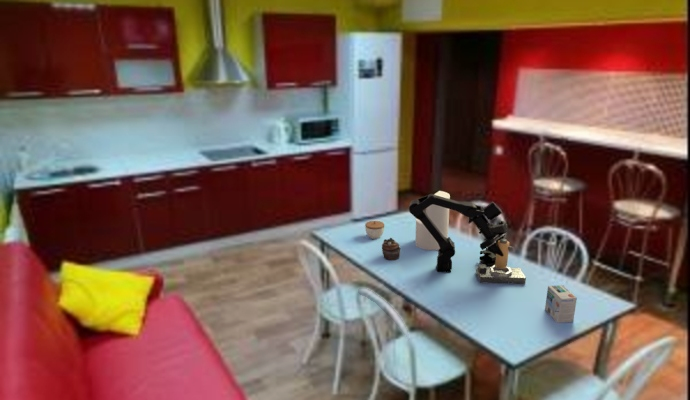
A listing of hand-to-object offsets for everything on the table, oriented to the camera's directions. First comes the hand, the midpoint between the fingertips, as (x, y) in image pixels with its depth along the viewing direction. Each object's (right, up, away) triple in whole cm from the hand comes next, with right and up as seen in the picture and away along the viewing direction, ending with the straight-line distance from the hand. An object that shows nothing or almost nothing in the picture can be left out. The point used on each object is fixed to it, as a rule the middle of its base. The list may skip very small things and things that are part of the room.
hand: (505, 253), depth 216 cm
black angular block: (-1, -7, +19) cm, 21 cm away
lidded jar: (-56, +3, +55) cm, 78 cm away
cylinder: (-26, 0, +44) cm, 51 cm away
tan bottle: (-1, -6, +3) cm, 7 cm away
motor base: (-1, -12, +5) cm, 13 cm away
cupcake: (-49, -5, +29) cm, 57 cm away
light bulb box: (+13, -22, -26) cm, 36 cm away
